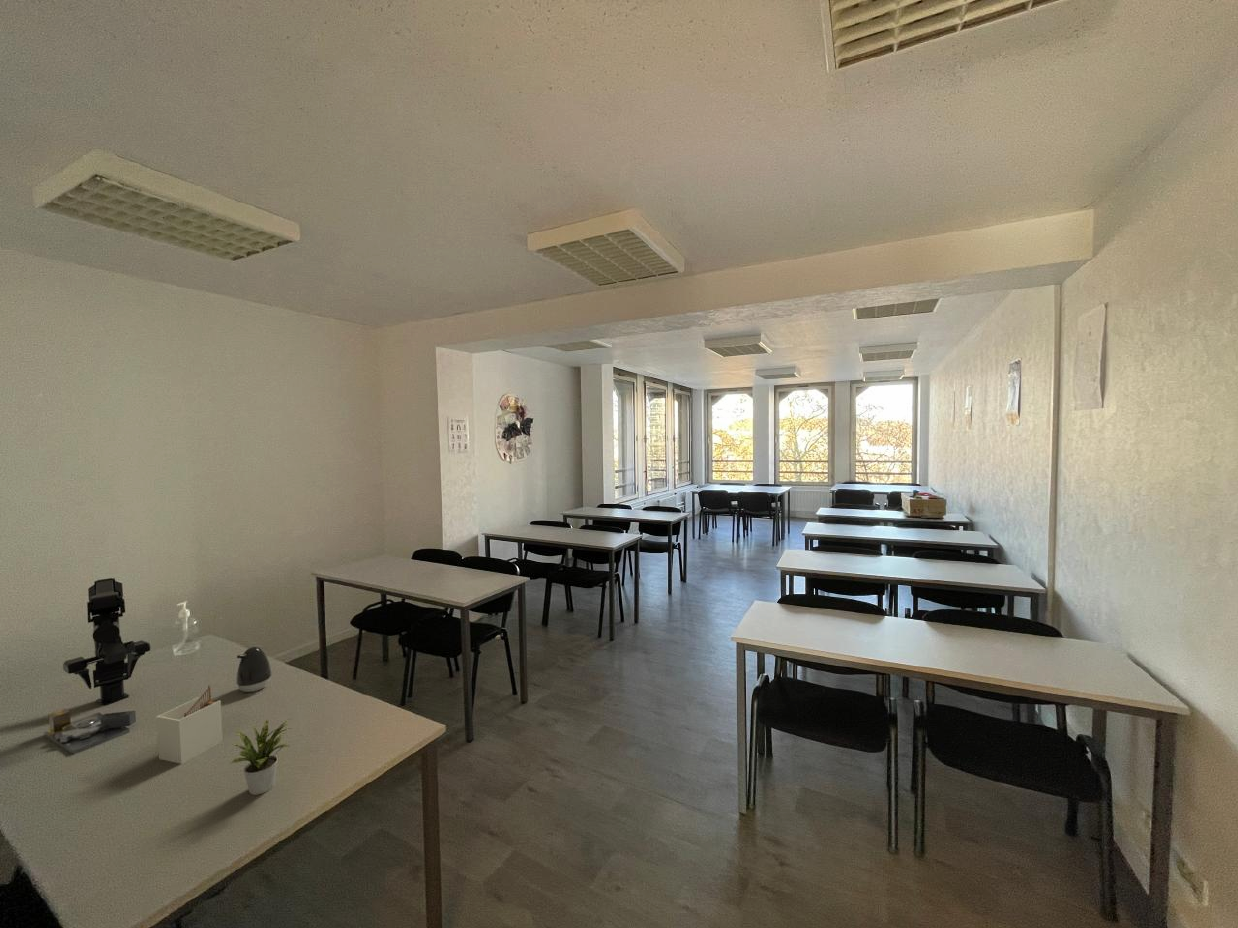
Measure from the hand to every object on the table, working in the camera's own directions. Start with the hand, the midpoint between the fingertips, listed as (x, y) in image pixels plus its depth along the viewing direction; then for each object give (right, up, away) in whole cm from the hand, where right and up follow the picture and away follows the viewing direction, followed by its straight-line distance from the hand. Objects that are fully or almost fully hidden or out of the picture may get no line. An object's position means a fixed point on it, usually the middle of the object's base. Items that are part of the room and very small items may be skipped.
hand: (110, 681), depth 157 cm
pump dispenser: (+33, -11, +18) cm, 39 cm away
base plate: (+1, -12, -8) cm, 15 cm away
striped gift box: (-8, -11, -7) cm, 16 cm away
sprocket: (+4, -11, -7) cm, 14 cm away
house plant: (+74, -12, -33) cm, 82 cm away
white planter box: (+41, -13, -16) cm, 46 cm away
